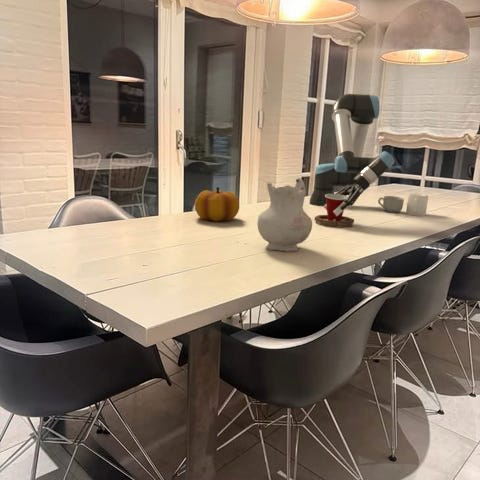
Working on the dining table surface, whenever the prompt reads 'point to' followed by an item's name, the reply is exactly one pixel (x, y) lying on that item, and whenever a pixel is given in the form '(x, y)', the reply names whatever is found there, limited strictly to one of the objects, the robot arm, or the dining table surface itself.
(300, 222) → the ceramic pitcher
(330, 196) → the plastic cup
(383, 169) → the robot arm
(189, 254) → the dining table surface
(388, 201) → the teacup
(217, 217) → the decorative pumpkin
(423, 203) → the mug
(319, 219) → the octagonal wooden tray
